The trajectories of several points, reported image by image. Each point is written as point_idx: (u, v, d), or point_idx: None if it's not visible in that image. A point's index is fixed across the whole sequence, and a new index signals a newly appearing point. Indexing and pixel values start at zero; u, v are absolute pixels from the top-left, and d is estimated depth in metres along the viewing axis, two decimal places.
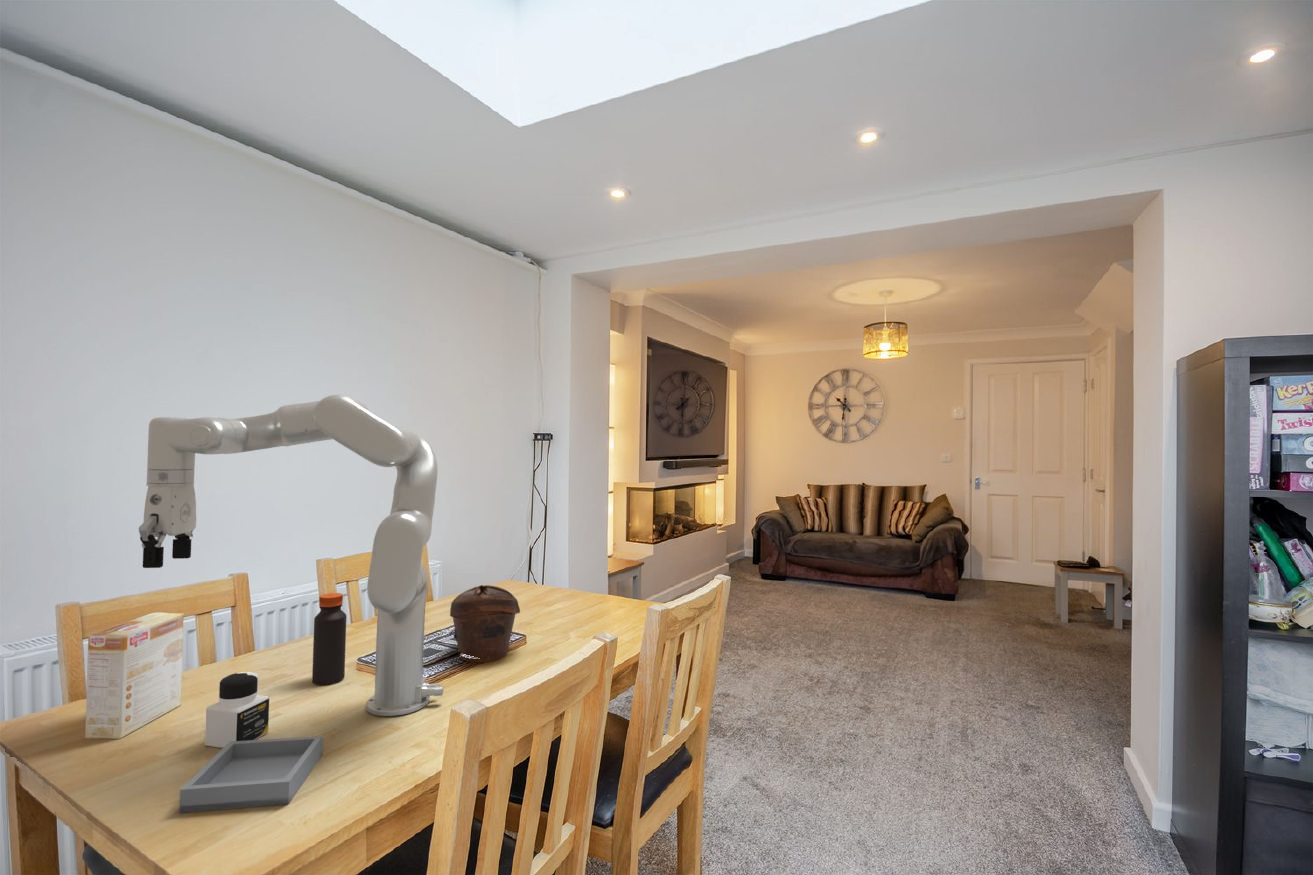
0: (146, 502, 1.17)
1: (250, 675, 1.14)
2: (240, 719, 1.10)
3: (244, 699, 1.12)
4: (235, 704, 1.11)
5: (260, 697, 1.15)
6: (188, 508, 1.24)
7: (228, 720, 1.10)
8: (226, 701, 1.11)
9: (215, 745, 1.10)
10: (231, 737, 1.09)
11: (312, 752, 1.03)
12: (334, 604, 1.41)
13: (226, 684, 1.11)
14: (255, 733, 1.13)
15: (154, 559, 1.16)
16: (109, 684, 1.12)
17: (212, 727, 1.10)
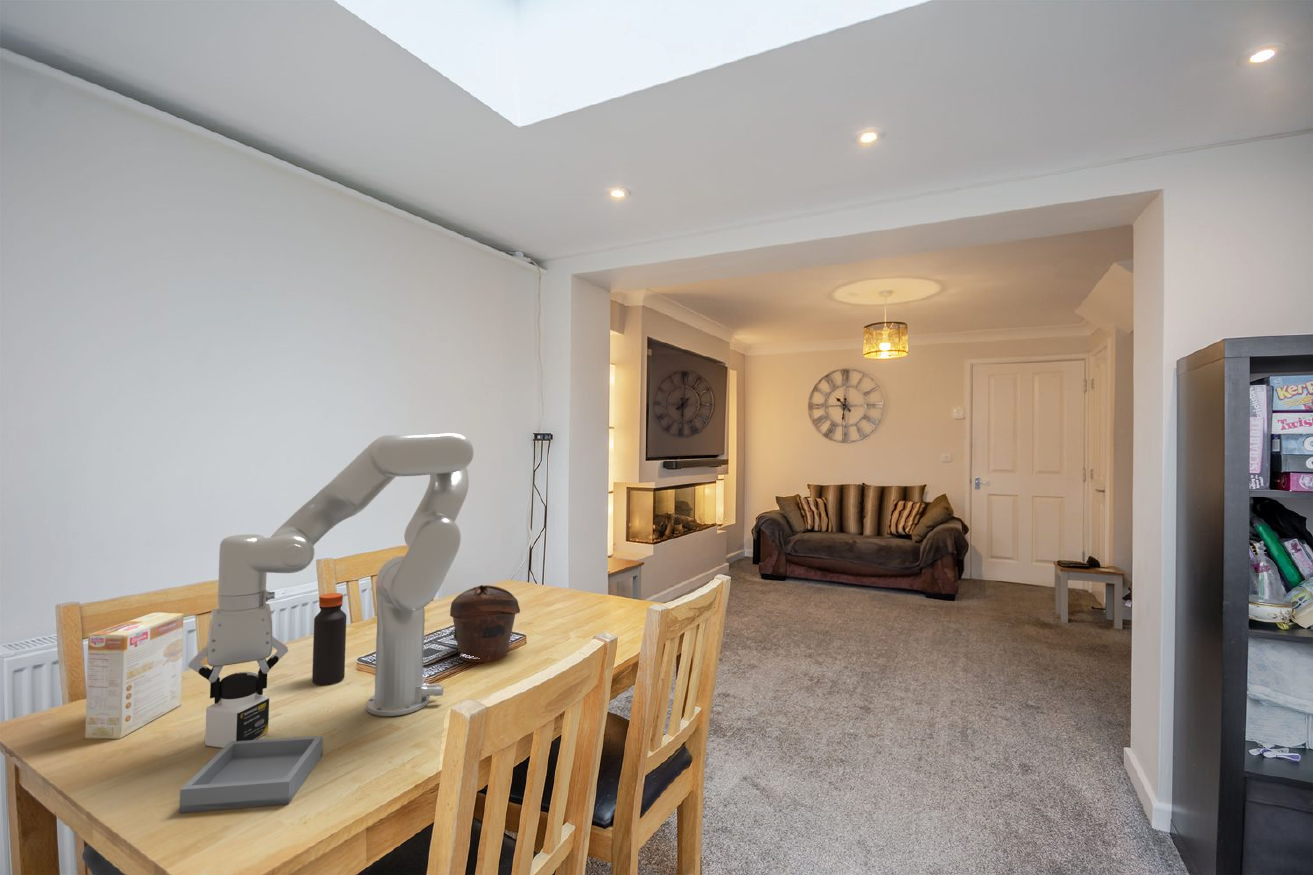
0: (270, 623, 1.15)
1: (250, 675, 1.14)
2: (240, 719, 1.10)
3: (244, 699, 1.12)
4: (235, 704, 1.11)
5: (260, 697, 1.15)
6: None
7: (228, 720, 1.10)
8: (226, 701, 1.11)
9: (215, 745, 1.10)
10: (231, 737, 1.09)
11: (312, 752, 1.03)
12: (334, 604, 1.41)
13: (226, 684, 1.11)
14: (255, 733, 1.13)
15: None
16: (109, 684, 1.12)
17: (212, 727, 1.10)
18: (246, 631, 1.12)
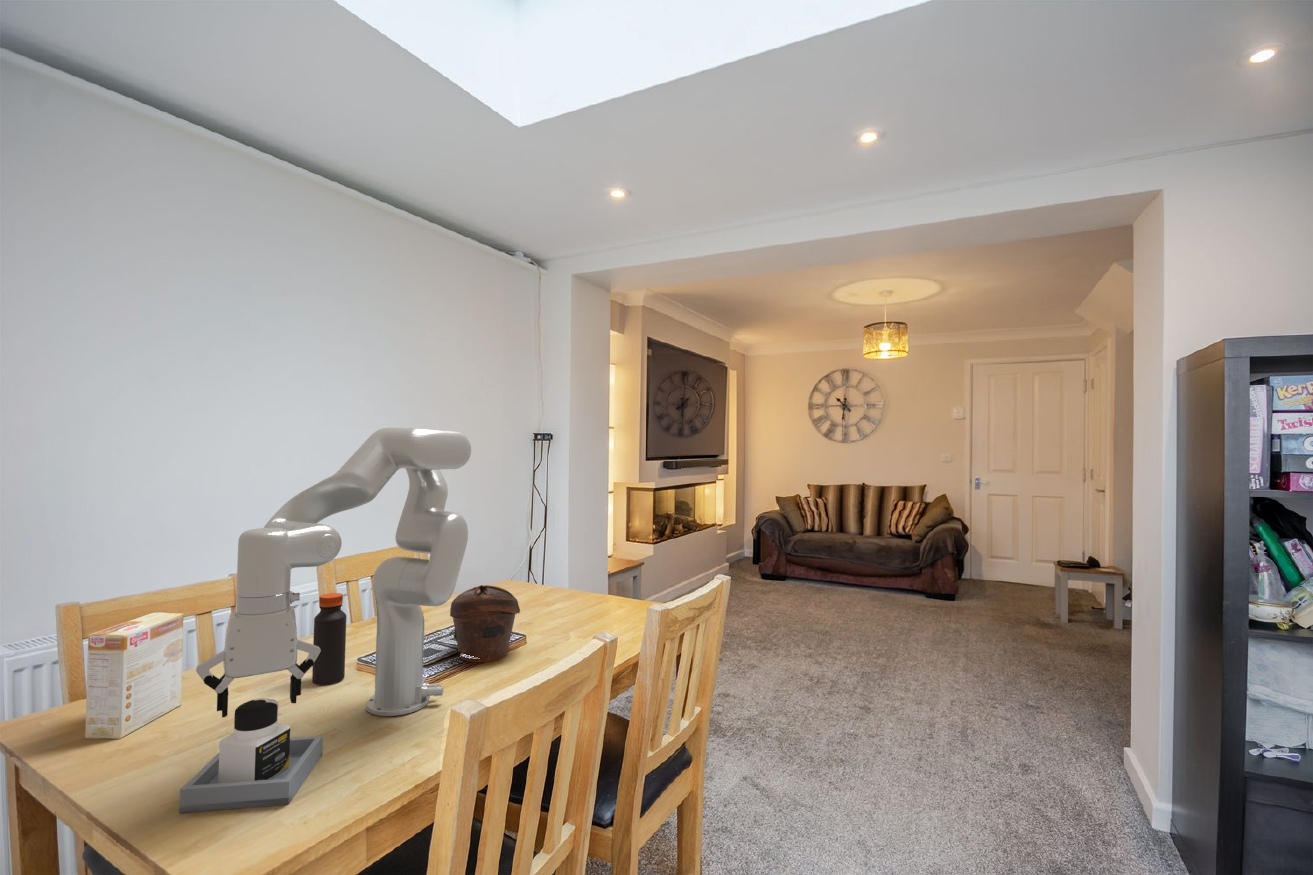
0: (295, 628, 1.01)
1: (270, 703, 1.00)
2: (259, 753, 0.96)
3: (263, 730, 0.98)
4: (253, 737, 0.97)
5: (280, 727, 1.01)
6: None
7: (245, 755, 0.96)
8: (242, 733, 0.97)
9: None
10: (248, 774, 0.96)
11: (312, 752, 1.03)
12: (334, 604, 1.41)
13: (243, 714, 0.97)
14: (275, 768, 0.99)
15: None
16: (109, 684, 1.12)
17: (226, 763, 0.96)
18: (268, 637, 0.99)
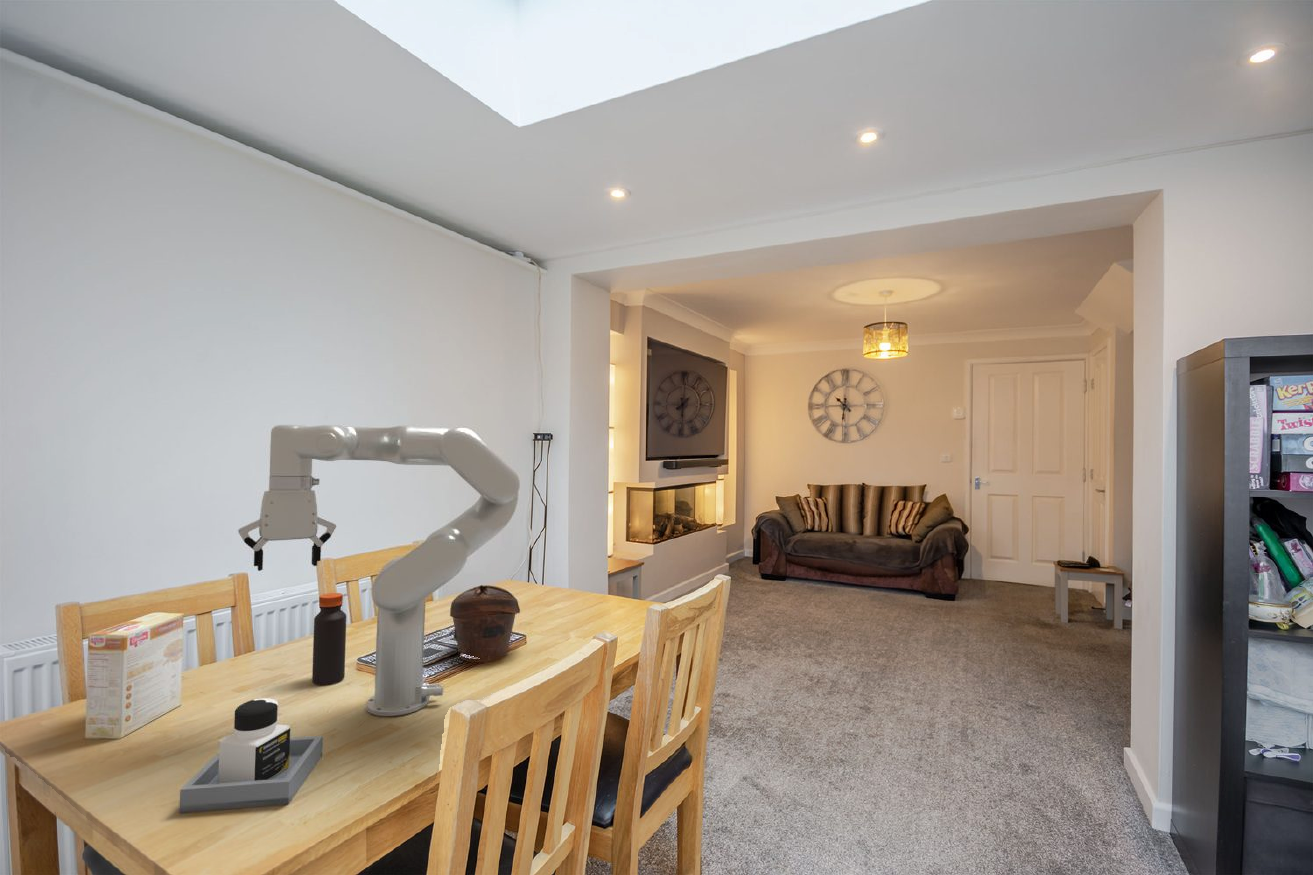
0: (316, 506, 1.26)
1: (270, 703, 1.00)
2: (259, 753, 0.96)
3: (263, 730, 0.98)
4: (253, 737, 0.97)
5: (280, 727, 1.01)
6: None
7: (245, 755, 0.96)
8: (242, 733, 0.97)
9: None
10: (248, 774, 0.96)
11: (312, 752, 1.03)
12: (334, 604, 1.41)
13: (243, 714, 0.97)
14: (275, 768, 0.99)
15: None
16: (109, 684, 1.12)
17: (226, 763, 0.96)
18: (295, 510, 1.23)
